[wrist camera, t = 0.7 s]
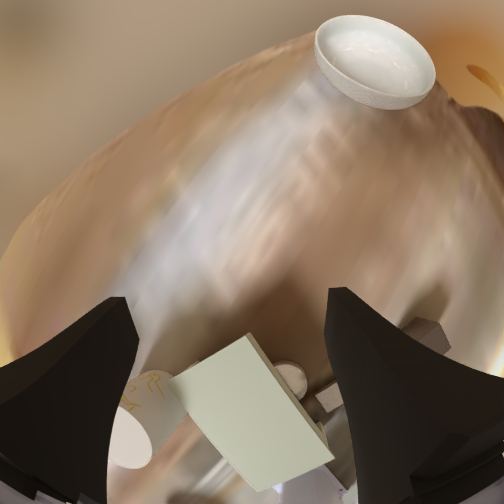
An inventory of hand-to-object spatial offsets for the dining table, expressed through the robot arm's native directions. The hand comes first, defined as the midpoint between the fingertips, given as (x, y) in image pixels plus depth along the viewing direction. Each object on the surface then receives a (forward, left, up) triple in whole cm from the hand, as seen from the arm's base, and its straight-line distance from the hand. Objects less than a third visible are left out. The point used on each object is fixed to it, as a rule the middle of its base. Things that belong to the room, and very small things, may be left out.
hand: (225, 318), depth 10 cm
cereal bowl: (+16, -29, -24) cm, 41 cm away
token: (-10, +4, -24) cm, 26 cm away
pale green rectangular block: (-11, +8, -24) cm, 27 cm away
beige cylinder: (-4, +20, -24) cm, 31 cm away
